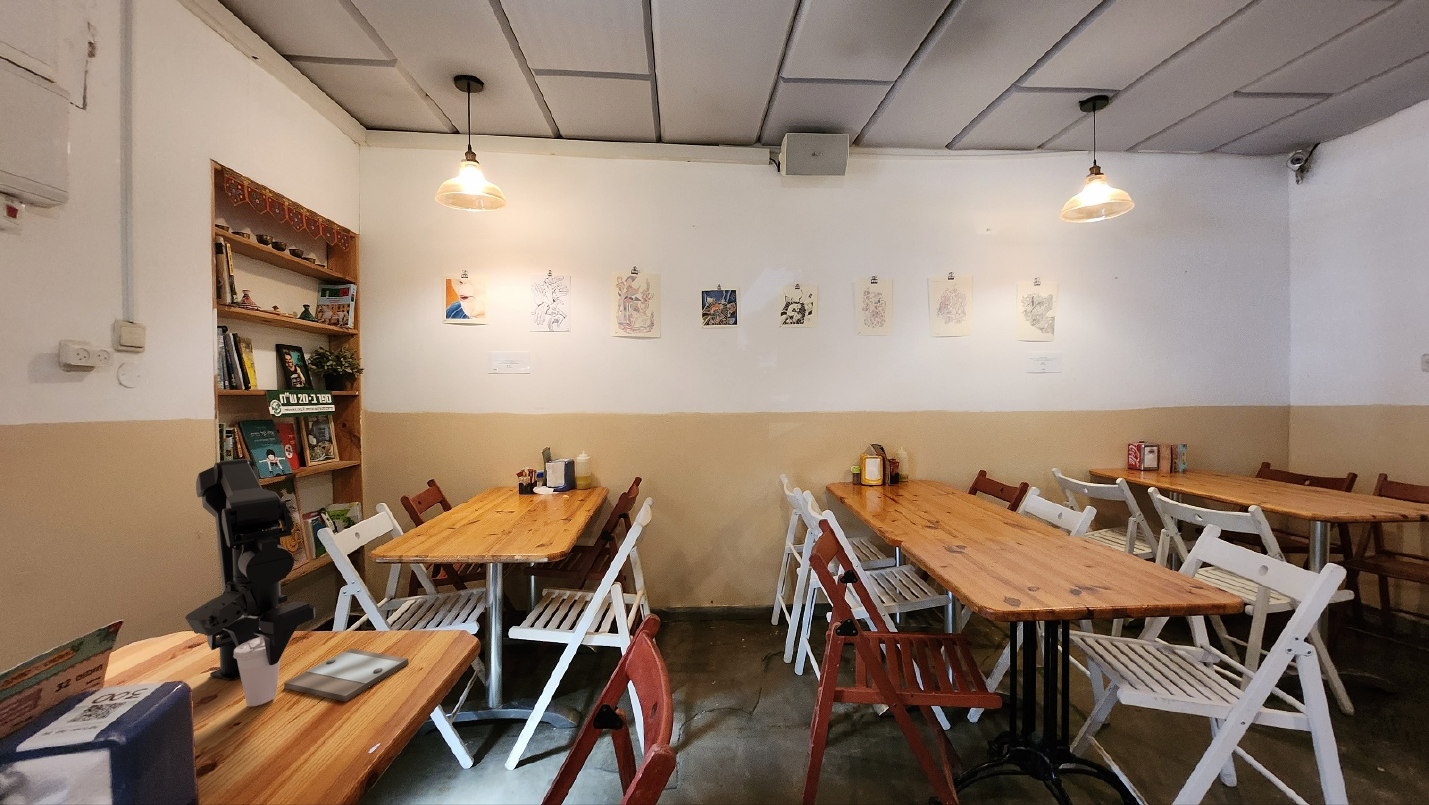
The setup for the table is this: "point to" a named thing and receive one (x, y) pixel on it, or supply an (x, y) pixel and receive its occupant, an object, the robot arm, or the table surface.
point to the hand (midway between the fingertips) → (260, 661)
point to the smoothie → (256, 672)
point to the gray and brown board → (346, 674)
